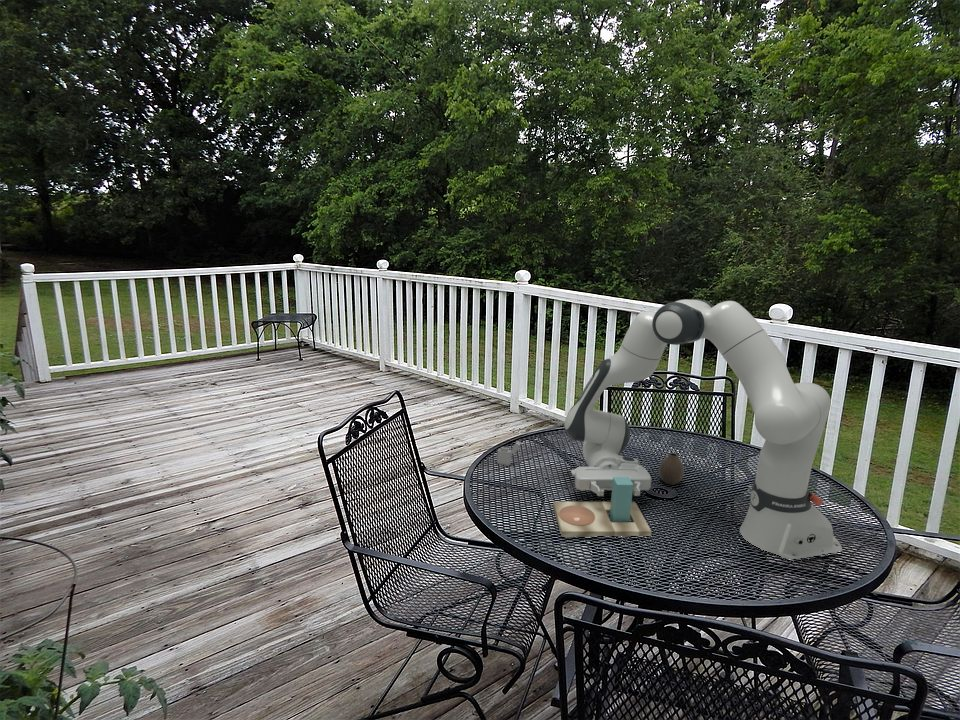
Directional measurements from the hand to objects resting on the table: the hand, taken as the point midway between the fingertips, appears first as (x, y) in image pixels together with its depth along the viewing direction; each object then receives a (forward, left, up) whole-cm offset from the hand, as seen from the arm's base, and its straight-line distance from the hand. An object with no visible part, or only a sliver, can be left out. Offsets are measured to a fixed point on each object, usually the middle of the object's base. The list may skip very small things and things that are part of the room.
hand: (619, 493), depth 147 cm
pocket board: (+5, +3, -7) cm, 9 cm away
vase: (-21, -19, -7) cm, 29 cm away
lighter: (+26, -30, -7) cm, 41 cm away
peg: (0, +3, -7) cm, 7 cm away
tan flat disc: (+11, +3, -5) cm, 12 cm away
